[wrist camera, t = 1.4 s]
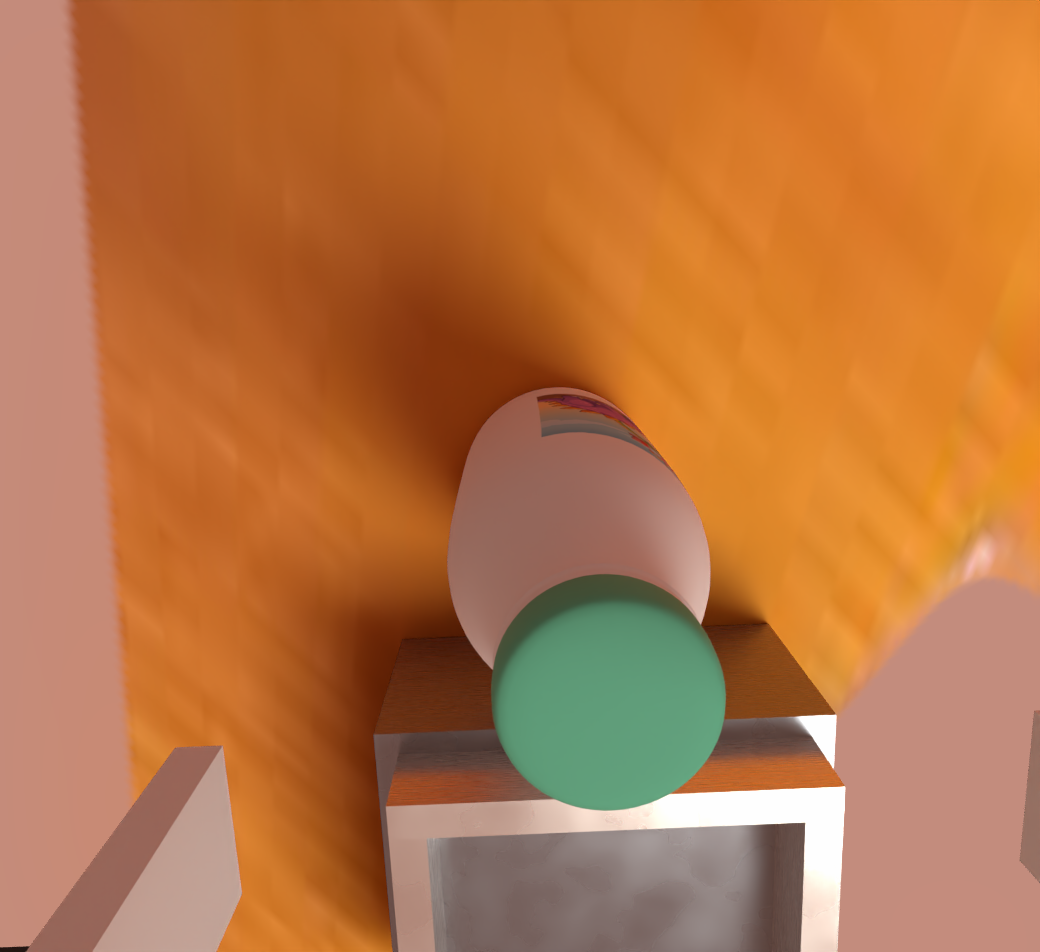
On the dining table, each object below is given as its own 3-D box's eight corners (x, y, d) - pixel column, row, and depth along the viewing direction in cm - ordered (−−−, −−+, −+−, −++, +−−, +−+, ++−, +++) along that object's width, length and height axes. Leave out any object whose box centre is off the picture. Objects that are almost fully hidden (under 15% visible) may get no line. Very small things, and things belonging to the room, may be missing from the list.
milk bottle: (528, 596, 37) (545, 951, 17) (429, 448, 35) (327, 655, 16) (683, 504, 36) (884, 769, 16) (588, 348, 34) (687, 437, 15)
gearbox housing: (402, 639, 37) (358, 784, 26) (768, 623, 37) (871, 762, 26) (428, 971, 41) (398, 1215, 30) (760, 957, 41) (847, 1196, 30)
